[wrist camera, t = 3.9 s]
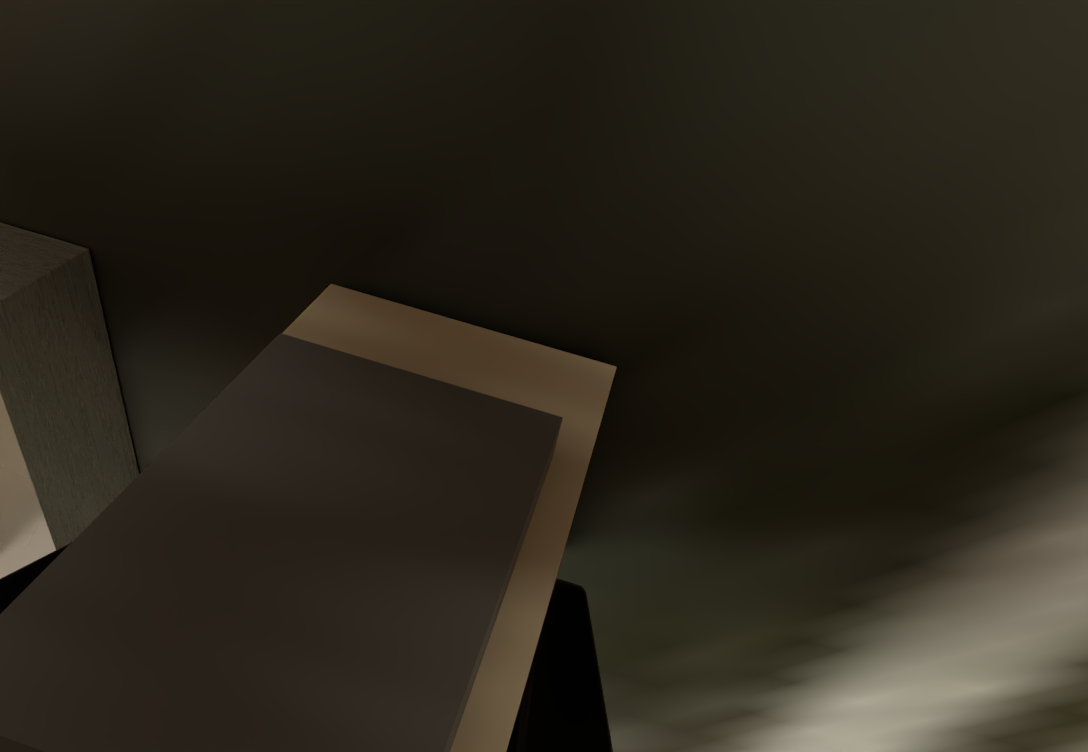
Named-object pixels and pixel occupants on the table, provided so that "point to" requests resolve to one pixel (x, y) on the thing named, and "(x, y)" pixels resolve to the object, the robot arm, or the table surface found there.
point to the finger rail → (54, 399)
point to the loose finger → (320, 552)
